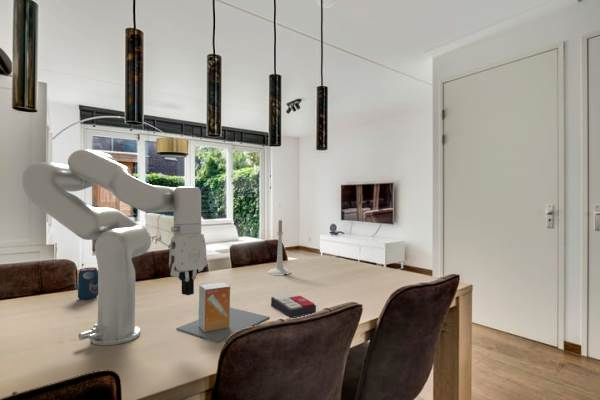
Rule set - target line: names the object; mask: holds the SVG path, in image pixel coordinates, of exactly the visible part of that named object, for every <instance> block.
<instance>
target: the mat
mask: <svg viewBox="0 0 600 400" xmlns="http://www.w3.org/2000/svg"><path fill="white" fill-rule="evenodd" d="M269 319H270V316H267V315H263V314H259V313H254V312H250V311H246V310H244V309H243V310H242V309H238V308H234V307H230V318H229V328H223V329H218V330H213V331H208V332H204V331H203V330H202V329H201V328H200V327H199V319H196V320H193V321H191V322H189V323H186V324H184V325H180V326H179V327H176V328H175V330H176V331H179V332H183V333H185V334H188V335H192V336H195V337H198V338H201V339H205V340H207V341H210V342H214V343H217V344H220V343H222V342H224V341H227V340H228V339H229V338H228V337H229V336H230V335H231V334H233V333H235V332H236V331H238V330H241V329H243V328H246V327H249V326H253V325H255V326H256V324H257V325H259V324H260V323H263V322H265V321H267V320H269ZM253 327H254V326H253ZM227 338H228V339H227Z"/></svg>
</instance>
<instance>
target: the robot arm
mask: <svg viewBox="0 0 600 400" xmlns="http://www.w3.org/2000/svg"><path fill="white" fill-rule="evenodd" d="M21 183H22V188H23V191H24V193H25V195H26V197H27V198H28V200H29V201H30V202H31V203H32V204H33V205H34V206H36V207H37V208H38V209H39V210H41V211H43V213H46V214H47V215H48V216H50V217H52V218H53V219H55V220H56V222H58V223H59V224H61V225H62V226H64V227H65V228H66V229H68V230H69V231H71V232H72V233H73V234H74V235H76V236H77V237H78V238H81V239H82V240H87V241H88V240H89V241H90V240H91V241H93V240H95V244H94V254H95V258H96V262H97V271H98V296H97V299H98V300H97V323H95V324H93V327H92V328H90V330H85V331H83V332H82V331H81V332H79V333H78V340H79V341H84V340H86V339H88V340H90V341H91V343H93V345H98V346H114V345H119V344H120V345H121V344H124V343H128V342H130V341H133V340H134V339H136V338H138V337H139V336H140V335H141V327H139V326H137V325H135V323H136V320H135V319H136V316H135V315H136V269H135V266H134V264H133V260H132V259H133V258H137V257H139V256H142V255H144V254H146V253H147V252H148V251H149V250H150V248H151V246H152V236H151V235H150V233H149V231H148V230H147V229H146V228H144V227H143V226H142V225H140V223H138V222H136V221H135V220H134V219H132V218H131V217H129V216H128V215H126V214H125V213H124V212H122V211H120V210H119V209H116V208H112V207H95V206H91V205H89V204H88V203H87V202H85V201H83V199H81V198H80V197H78V196H77V195H75V194H72V193H71V192H79V191H82V190H85V189H89V188H91V187H94V186H98V187H100V188H103V189H104V190H107V191H109V192H111V194H112V195H113V196H114V197H115V198H116V199H118V201H120V202H122V203H123V204H126V205H128V206H131V207H132V208H134V209H136V210H139V211H142V212H144V213H149V214H151V213H152V214H155V213H169V212H173V226H172V227H171V226H170V227H171V228H170V232H171V233H172V232H173V235H171V238H170V244H169V254H168V267H169V270H170V273H169V274H170V277H175V278H176V277H177V278H178V279H179V280H180V281H181V294H182V295H185V296H191V295H194V294H195V284H194V283H195V282H194V281H195V280H196V279H197V276H198V274H199V273H200V272H202V271H203V270H204V268H205V267H206V266H207V263H208V262H207V261H208V259H207V258H208V256H207V246H206V241H205V235H204V233H202V191H201V189H200V188H199V187H197V186H177V187H172V186H165V185H156V184H155V185H154V184H153V185H152V184H150V183H147V182H145V181H143V180H140V179H138V178H136V177H135V176H133V175H132V172H131V169H130V168H129V167H128V166H127V165H124V164H122V163H119V162H118V161H117V160H116V158H114V156H112V155H110V154H108V153H105V152H101V151H96V150H92V149H86V148H85V149H78V150H75V151H74V152H72V153H71V154H70V155H69V156H68V158H67V164H66V163H65V164H64V163H59V162H58V163H57V162H52V161H51V162H50V161H49V162H47V161H41V162H36V163H33V164H30V165H28V166H27V167H26V168H25V169H24V171H23V172H22V178H21Z"/></svg>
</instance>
